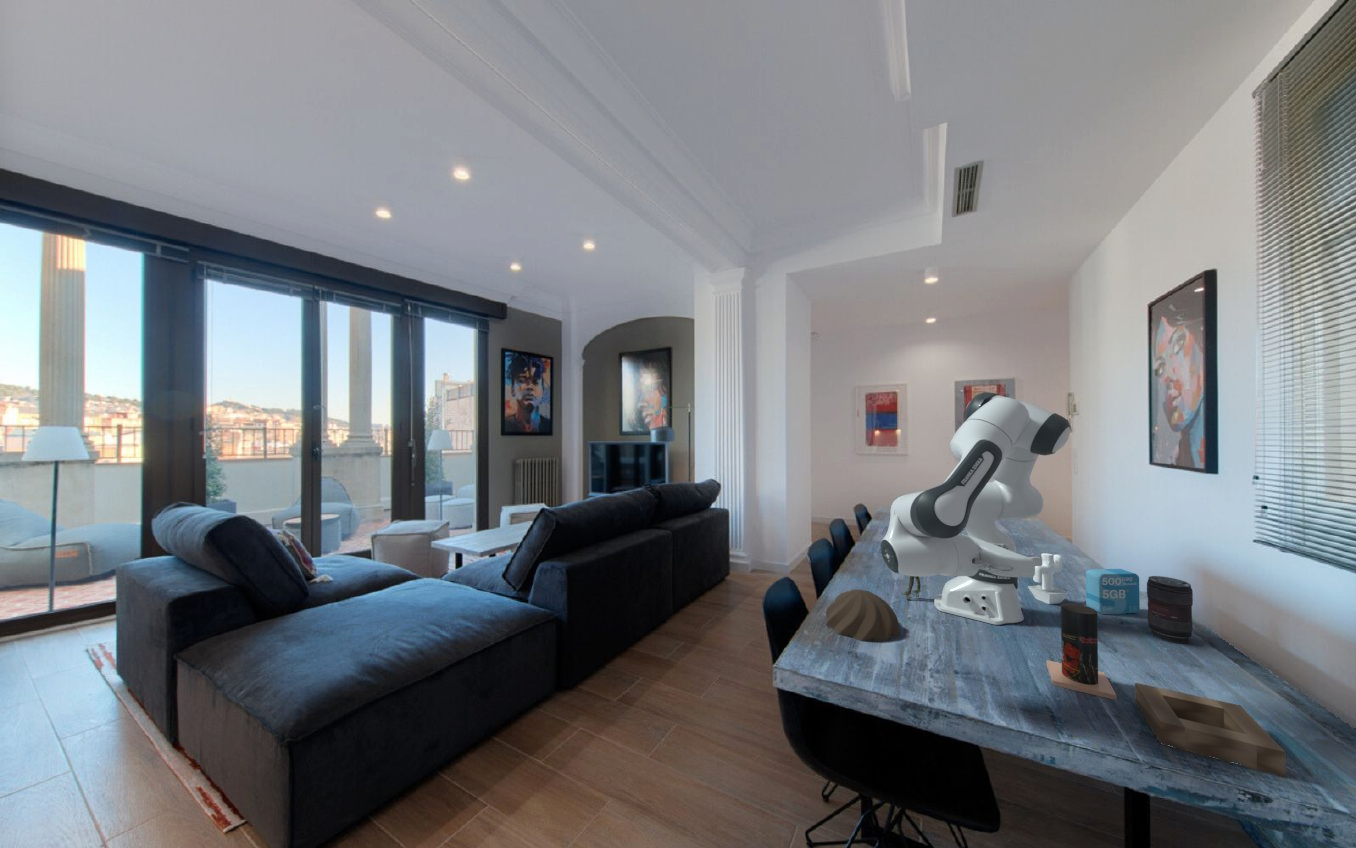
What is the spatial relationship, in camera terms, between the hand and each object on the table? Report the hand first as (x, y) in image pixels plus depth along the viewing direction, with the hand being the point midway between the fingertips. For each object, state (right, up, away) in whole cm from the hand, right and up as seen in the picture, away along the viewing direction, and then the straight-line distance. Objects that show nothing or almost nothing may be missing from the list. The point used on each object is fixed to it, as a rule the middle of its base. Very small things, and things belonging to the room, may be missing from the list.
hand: (1022, 554), depth 98 cm
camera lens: (+53, -28, +19) cm, 63 cm away
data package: (+55, -28, +36) cm, 71 cm away
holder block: (+19, -28, -17) cm, 38 cm away
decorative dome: (-24, -29, +28) cm, 47 cm away
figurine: (+42, -28, +44) cm, 67 cm away
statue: (0, -28, +47) cm, 55 cm away
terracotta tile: (+13, -28, 0) cm, 31 cm away
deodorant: (+12, -27, 0) cm, 30 cm away
